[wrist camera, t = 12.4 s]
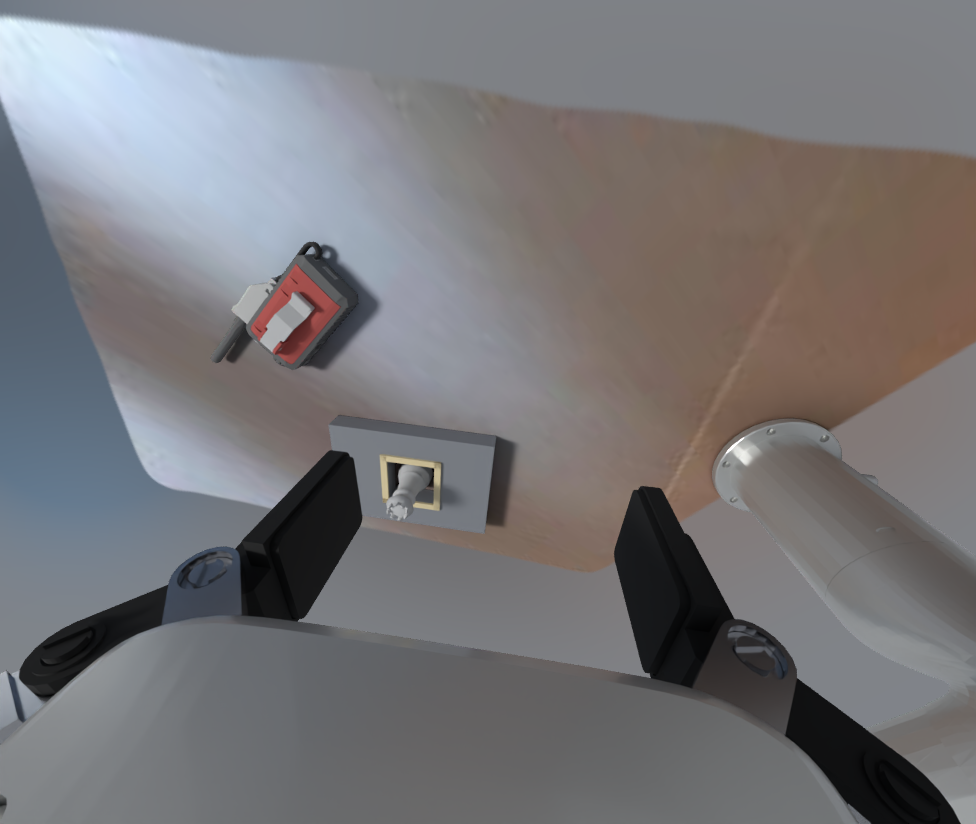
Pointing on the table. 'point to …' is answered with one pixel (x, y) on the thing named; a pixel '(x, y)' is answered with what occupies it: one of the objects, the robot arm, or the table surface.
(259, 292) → the red gray switch box
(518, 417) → the table surface
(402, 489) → the rook chess piece
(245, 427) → the table surface
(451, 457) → the socket board
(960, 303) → the table surface
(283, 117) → the table surface
